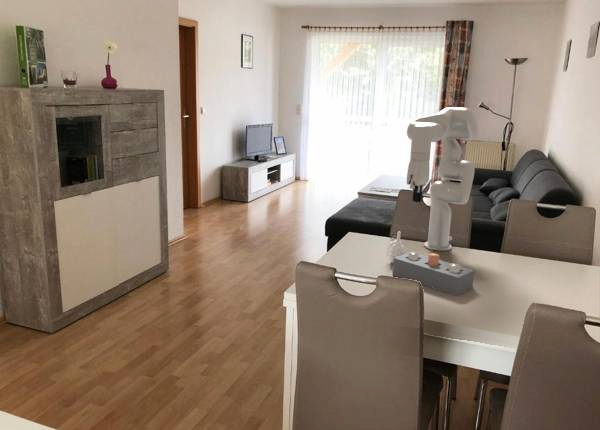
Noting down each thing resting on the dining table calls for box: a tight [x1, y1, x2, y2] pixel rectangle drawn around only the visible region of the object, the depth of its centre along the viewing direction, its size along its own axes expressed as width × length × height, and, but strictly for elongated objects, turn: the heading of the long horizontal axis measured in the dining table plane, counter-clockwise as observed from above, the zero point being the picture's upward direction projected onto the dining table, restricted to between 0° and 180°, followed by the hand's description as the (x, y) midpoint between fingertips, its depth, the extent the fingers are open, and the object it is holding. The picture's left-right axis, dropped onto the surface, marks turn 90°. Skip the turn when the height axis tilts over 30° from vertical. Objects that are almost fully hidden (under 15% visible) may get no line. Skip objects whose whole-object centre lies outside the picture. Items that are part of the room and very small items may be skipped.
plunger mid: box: [427, 252, 440, 267], centre depth 194 cm, size 4×4×8 cm
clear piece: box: [449, 262, 461, 273], centre depth 188 cm, size 4×4×8 cm
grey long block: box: [392, 252, 476, 297], centre depth 195 cm, size 12×28×7 cm, turn 44°
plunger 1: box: [407, 251, 420, 261], centre depth 201 cm, size 4×4×8 cm
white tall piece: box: [386, 230, 406, 264], centre depth 214 cm, size 8×6×14 cm
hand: (416, 201), depth 204 cm, fingers closed
